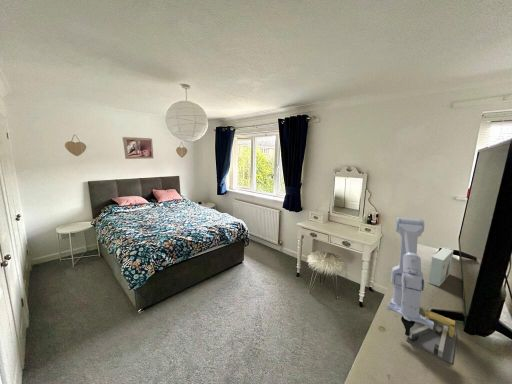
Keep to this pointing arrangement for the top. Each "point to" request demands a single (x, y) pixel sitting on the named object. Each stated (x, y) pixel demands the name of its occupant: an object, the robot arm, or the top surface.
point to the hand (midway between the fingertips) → (407, 334)
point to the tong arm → (419, 333)
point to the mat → (434, 342)
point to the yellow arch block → (441, 320)
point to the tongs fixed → (440, 348)
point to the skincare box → (440, 266)
